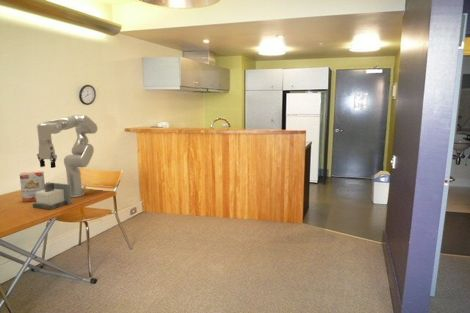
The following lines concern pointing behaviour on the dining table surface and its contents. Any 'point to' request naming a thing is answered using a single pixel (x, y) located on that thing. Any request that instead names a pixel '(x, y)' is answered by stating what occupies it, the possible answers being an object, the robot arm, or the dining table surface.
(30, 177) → the cracker box
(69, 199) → the grey piece
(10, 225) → the dining table surface
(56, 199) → the white rectangular box
